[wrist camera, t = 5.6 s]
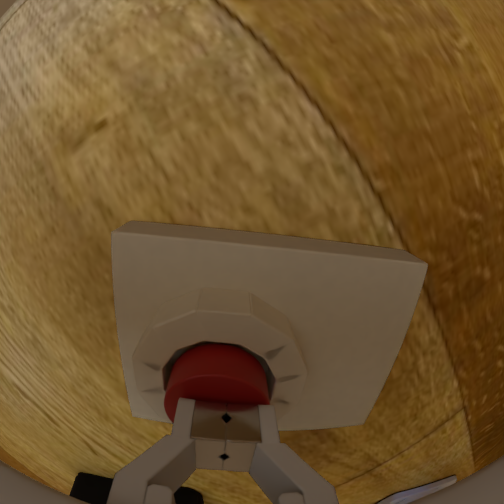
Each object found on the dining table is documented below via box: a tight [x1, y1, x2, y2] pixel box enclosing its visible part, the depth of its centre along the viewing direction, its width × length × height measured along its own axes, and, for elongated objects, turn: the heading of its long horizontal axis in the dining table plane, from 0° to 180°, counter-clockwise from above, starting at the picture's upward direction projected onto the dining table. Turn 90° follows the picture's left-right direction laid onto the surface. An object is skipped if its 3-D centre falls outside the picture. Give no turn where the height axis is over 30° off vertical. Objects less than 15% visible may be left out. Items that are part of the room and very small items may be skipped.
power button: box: [164, 344, 270, 423], centre depth 9 cm, size 4×4×2 cm
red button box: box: [111, 221, 428, 431], centre depth 12 cm, size 13×10×4 cm
